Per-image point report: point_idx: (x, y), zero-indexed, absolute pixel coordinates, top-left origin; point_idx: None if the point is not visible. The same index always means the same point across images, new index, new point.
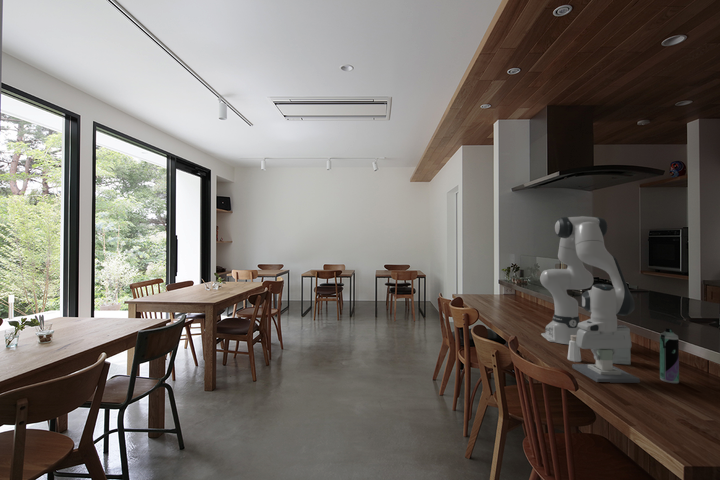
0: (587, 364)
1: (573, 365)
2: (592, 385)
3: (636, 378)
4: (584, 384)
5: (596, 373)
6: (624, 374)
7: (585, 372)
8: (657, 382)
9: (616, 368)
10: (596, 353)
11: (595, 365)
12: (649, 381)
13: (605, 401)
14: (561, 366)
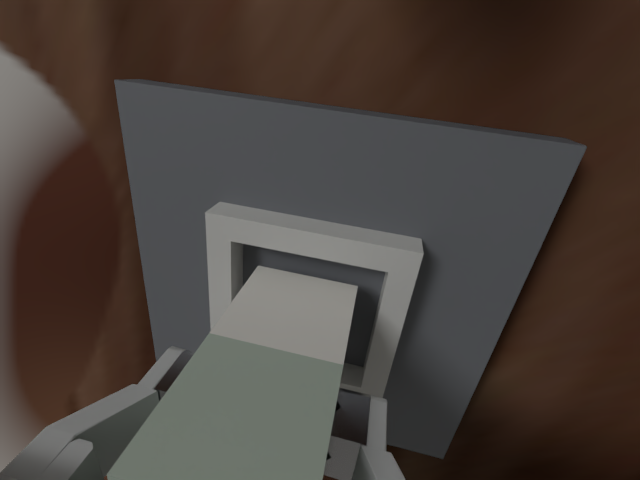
0: (277, 116)
1: (123, 107)
2: (128, 380)
3: (422, 451)
4: (93, 362)
5: (207, 326)
6: (409, 392)
7: (149, 278)
8: (574, 462)
9: (497, 281)
10: (117, 456)
11: (271, 247)
12: (537, 440)
13: (104, 476)
14: (54, 23)
